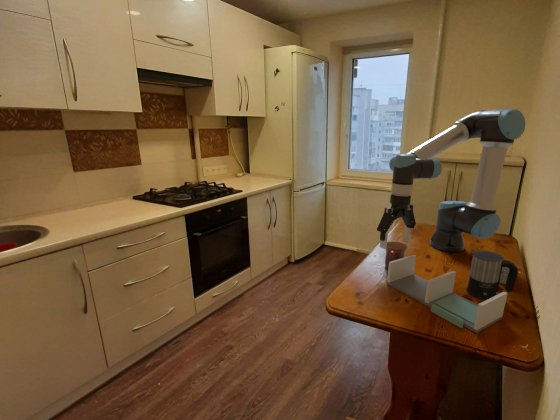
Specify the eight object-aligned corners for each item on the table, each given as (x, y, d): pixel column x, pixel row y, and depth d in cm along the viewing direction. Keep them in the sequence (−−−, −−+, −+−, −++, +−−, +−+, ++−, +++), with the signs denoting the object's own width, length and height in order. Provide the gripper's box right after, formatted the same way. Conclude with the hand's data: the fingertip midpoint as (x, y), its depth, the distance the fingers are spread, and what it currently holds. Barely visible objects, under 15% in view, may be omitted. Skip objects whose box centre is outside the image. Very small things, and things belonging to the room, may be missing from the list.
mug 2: (510, 286, 115) (514, 270, 113) (489, 280, 119) (492, 264, 118) (514, 277, 122) (518, 261, 120) (494, 271, 126) (498, 256, 125)
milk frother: (474, 299, 106) (481, 260, 102) (452, 278, 121) (458, 242, 117) (517, 301, 105) (526, 261, 101) (489, 279, 120) (496, 243, 116)
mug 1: (385, 261, 135) (387, 239, 133) (406, 266, 131) (409, 243, 128) (378, 272, 125) (380, 248, 123) (400, 277, 121) (403, 253, 118)
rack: (411, 275, 123) (413, 254, 120) (501, 318, 95) (507, 293, 93) (383, 284, 115) (386, 263, 113) (473, 335, 88) (478, 307, 85)
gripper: (413, 189, 129) (407, 237, 134) (370, 195, 117) (365, 247, 122) (429, 193, 123) (422, 243, 128) (386, 199, 111) (380, 253, 116)
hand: (394, 245), depth 125 cm, fingers open, 13 cm apart
